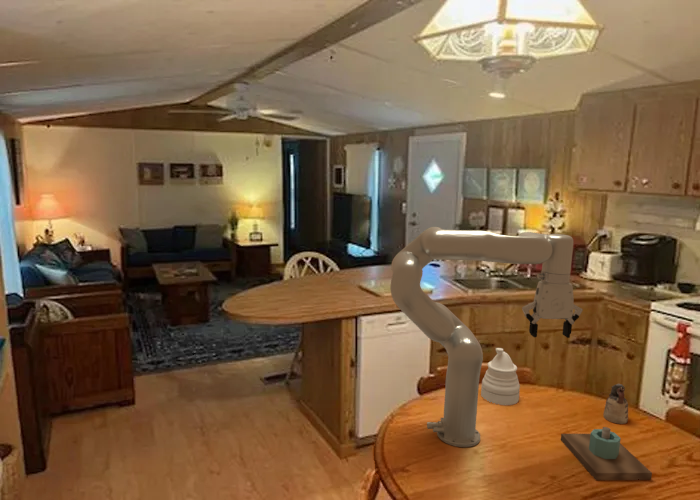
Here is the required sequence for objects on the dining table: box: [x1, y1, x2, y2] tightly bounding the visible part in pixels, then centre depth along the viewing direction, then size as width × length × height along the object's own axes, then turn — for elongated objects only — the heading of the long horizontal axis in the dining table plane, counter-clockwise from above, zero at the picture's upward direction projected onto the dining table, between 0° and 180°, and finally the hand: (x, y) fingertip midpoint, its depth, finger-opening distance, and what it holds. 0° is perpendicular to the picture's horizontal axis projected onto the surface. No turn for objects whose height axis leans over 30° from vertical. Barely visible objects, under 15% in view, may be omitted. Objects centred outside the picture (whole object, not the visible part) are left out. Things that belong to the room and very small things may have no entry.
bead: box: [589, 428, 622, 459], centre depth 145 cm, size 7×7×5 cm
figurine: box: [603, 383, 629, 425], centre depth 168 cm, size 7×7×12 cm
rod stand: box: [560, 426, 653, 481], centre depth 145 cm, size 15×20×9 cm
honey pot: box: [480, 347, 521, 406], centre depth 182 cm, size 13×13×18 cm
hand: (549, 336), depth 149 cm, fingers open, 9 cm apart
